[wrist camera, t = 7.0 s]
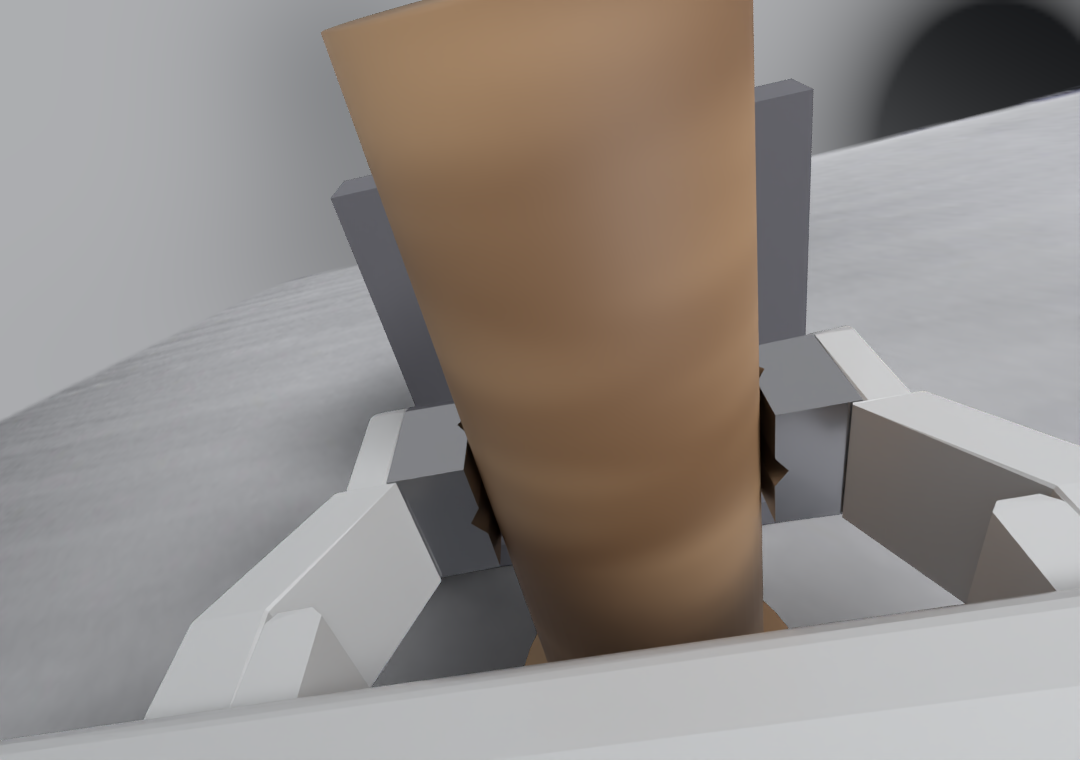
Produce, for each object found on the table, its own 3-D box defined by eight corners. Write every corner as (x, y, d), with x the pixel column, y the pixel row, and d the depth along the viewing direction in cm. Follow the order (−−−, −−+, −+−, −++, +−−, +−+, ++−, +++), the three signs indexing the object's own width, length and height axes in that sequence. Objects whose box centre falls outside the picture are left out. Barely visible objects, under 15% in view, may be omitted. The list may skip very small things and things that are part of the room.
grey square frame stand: (413, 580, 17) (245, 253, 11) (438, 436, 22) (329, 161, 16) (878, 506, 15) (932, 102, 10) (792, 371, 20) (798, 52, 15)
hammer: (533, 888, 10) (69, 111, 3) (528, 333, 25) (438, -18, 18) (866, 854, 10) (1074, -142, 3) (659, 308, 24) (616, -64, 18)
